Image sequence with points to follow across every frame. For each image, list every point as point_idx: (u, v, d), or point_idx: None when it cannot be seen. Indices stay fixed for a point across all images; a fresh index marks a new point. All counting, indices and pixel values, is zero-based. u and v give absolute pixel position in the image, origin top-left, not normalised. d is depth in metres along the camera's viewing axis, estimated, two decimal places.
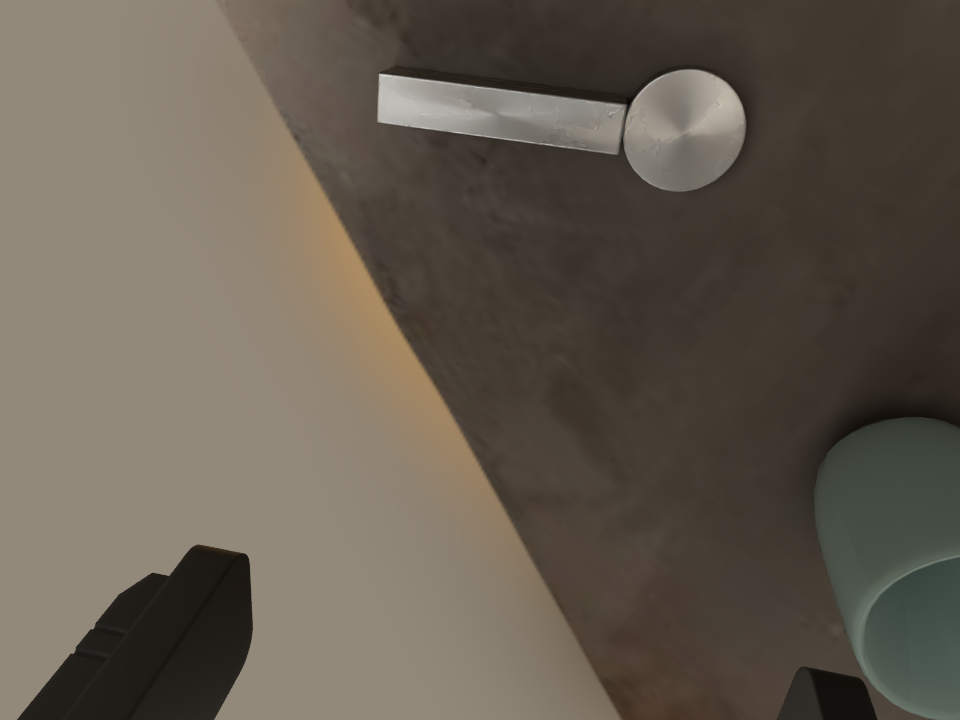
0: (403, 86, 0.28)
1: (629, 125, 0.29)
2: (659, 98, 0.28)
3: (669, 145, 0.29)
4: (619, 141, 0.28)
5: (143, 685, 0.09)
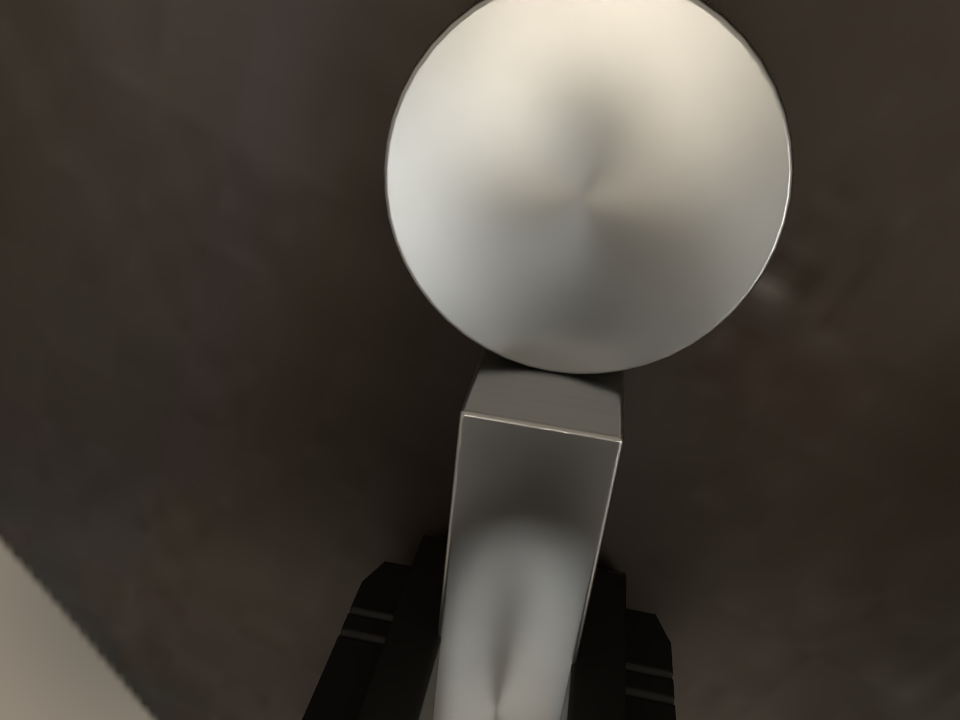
0: None
1: None
2: None
3: None
4: None
5: (426, 663, 0.10)
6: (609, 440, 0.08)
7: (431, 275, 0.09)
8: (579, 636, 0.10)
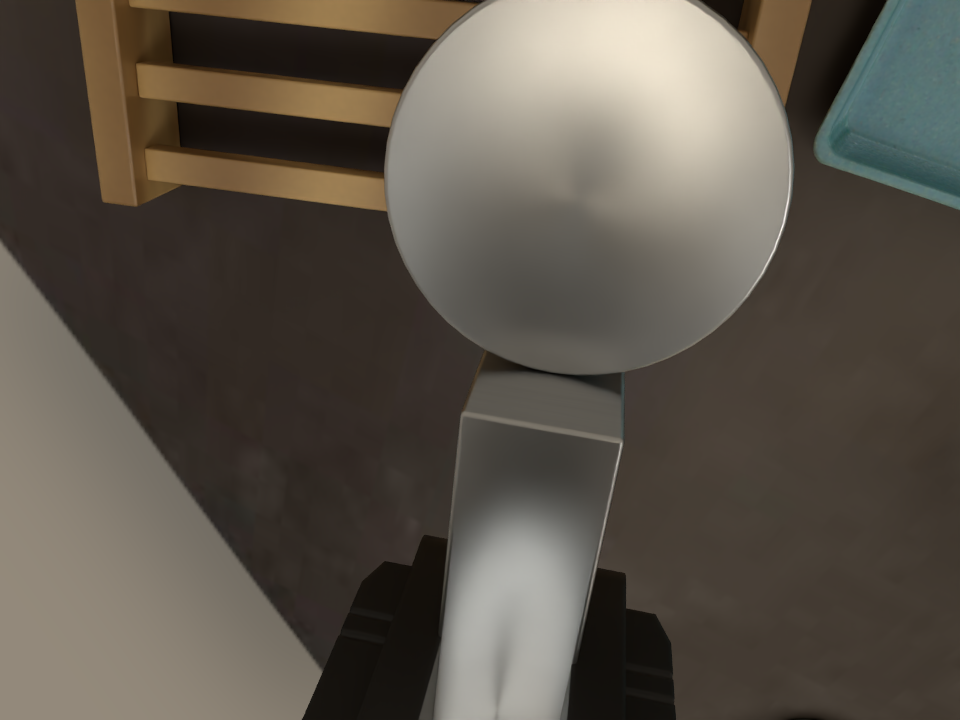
0: None
1: None
2: None
3: None
4: None
5: (426, 663, 0.10)
6: (610, 441, 0.08)
7: (432, 276, 0.09)
8: (580, 637, 0.10)
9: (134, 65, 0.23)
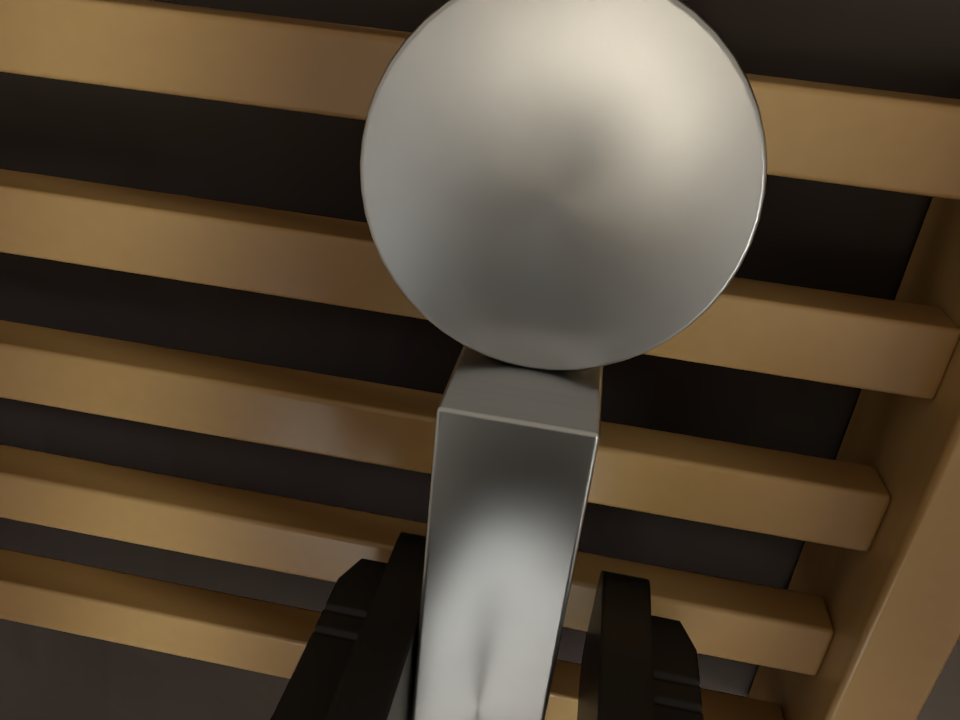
0: None
1: None
2: None
3: None
4: None
5: (398, 659, 0.10)
6: (585, 435, 0.08)
7: (408, 272, 0.09)
8: (559, 632, 0.10)
9: None
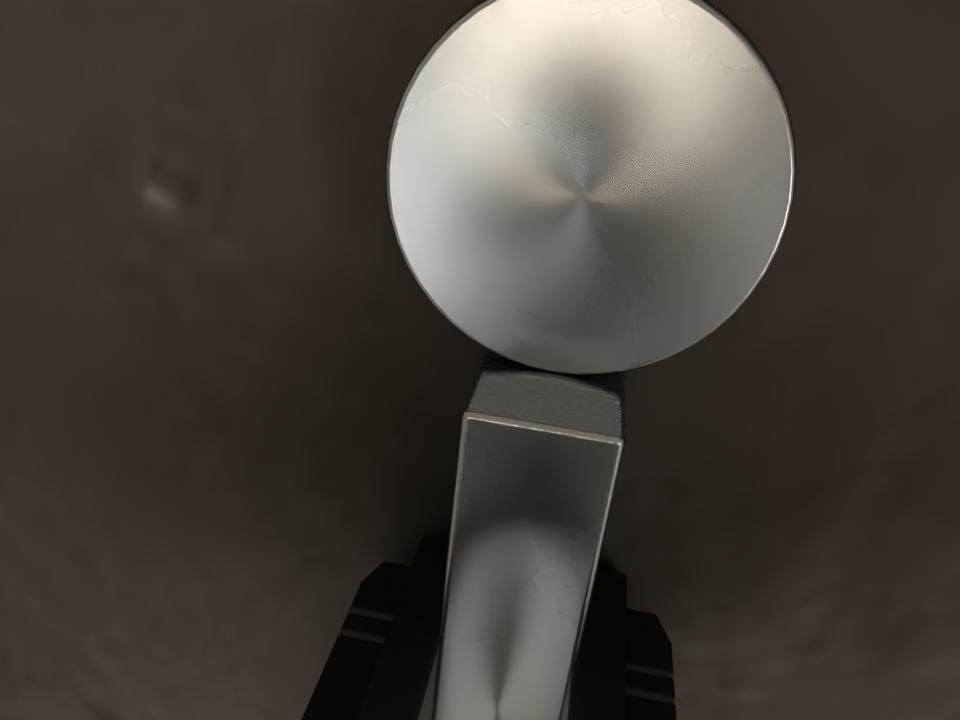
0: None
1: (555, 358, 0.09)
2: (474, 274, 0.09)
3: (622, 238, 0.09)
4: (579, 433, 0.08)
5: (425, 663, 0.10)
6: None
7: None
8: None
9: None
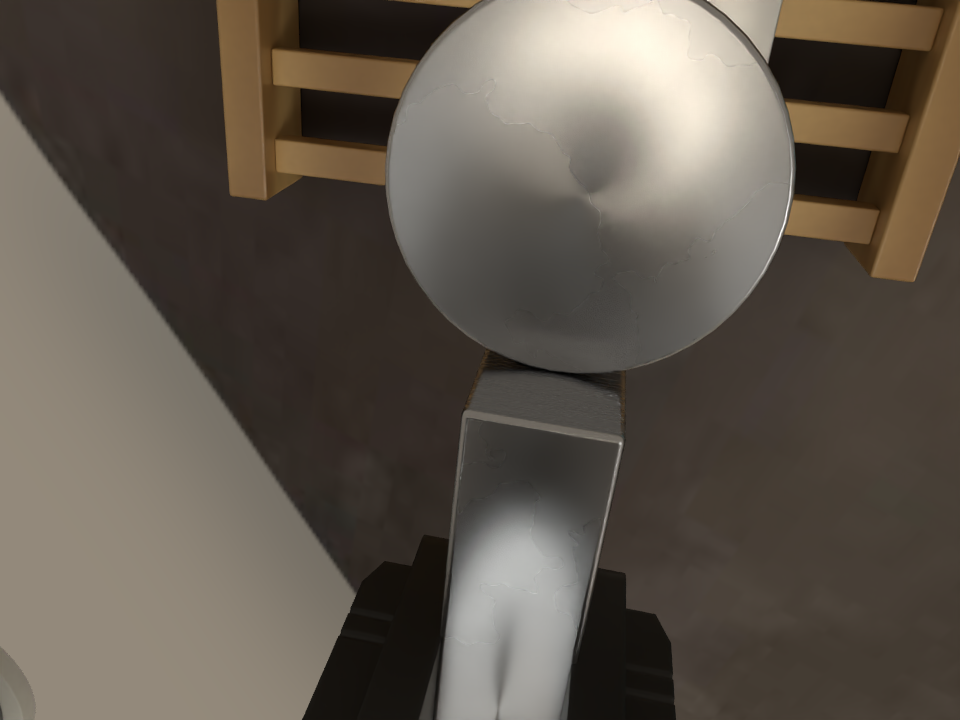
0: None
1: (556, 357, 0.09)
2: (473, 273, 0.09)
3: (623, 237, 0.09)
4: (579, 432, 0.08)
5: (426, 663, 0.10)
6: None
7: None
8: (768, 59, 0.18)
9: (270, 50, 0.22)
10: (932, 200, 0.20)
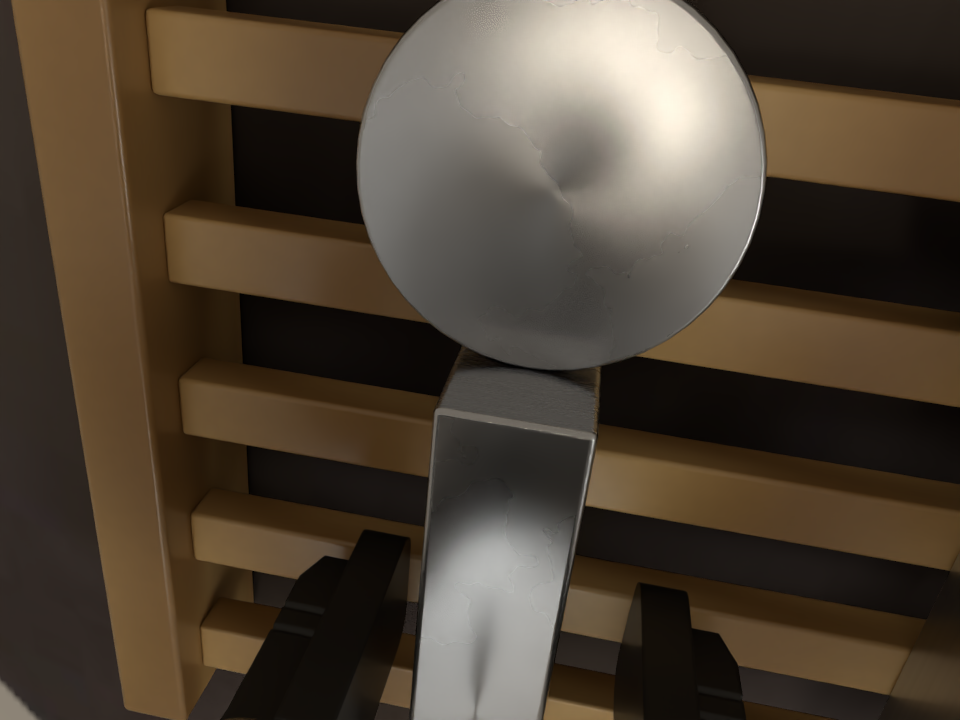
0: None
1: (530, 354, 0.09)
2: (446, 270, 0.09)
3: (595, 232, 0.08)
4: (551, 428, 0.08)
5: (353, 656, 0.10)
6: None
7: None
8: None
9: (188, 516, 0.13)
10: None
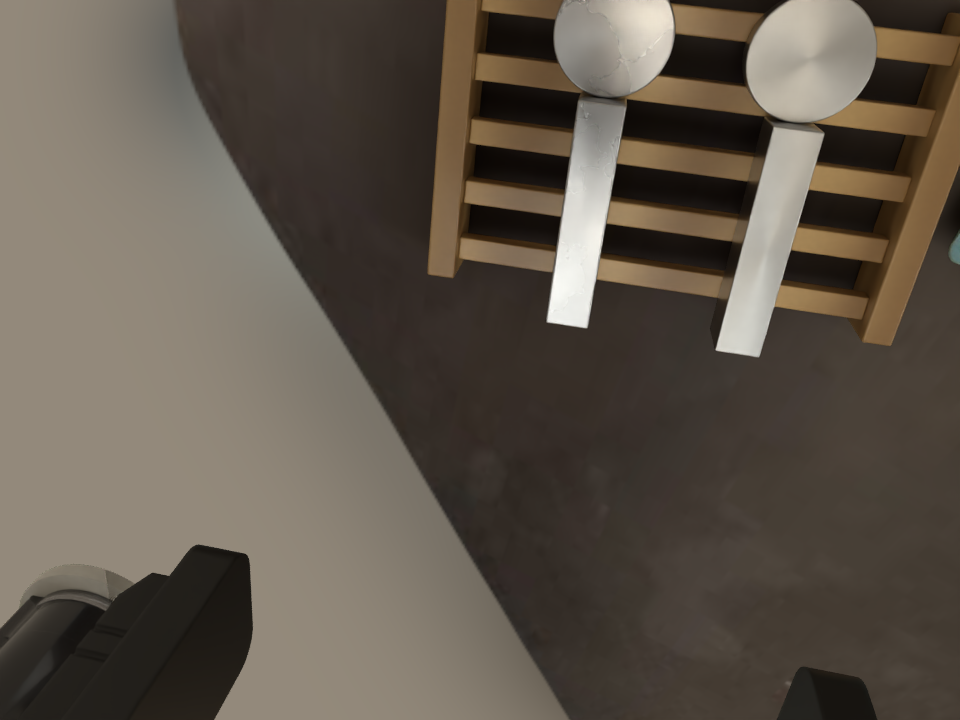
0: (557, 302, 0.32)
1: (604, 91, 0.29)
2: (579, 62, 0.29)
3: (625, 48, 0.29)
4: (613, 105, 0.28)
5: (143, 685, 0.09)
6: (820, 133, 0.28)
7: (757, 89, 0.28)
8: (801, 212, 0.29)
9: (464, 181, 0.33)
10: (902, 295, 0.31)
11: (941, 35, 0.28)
